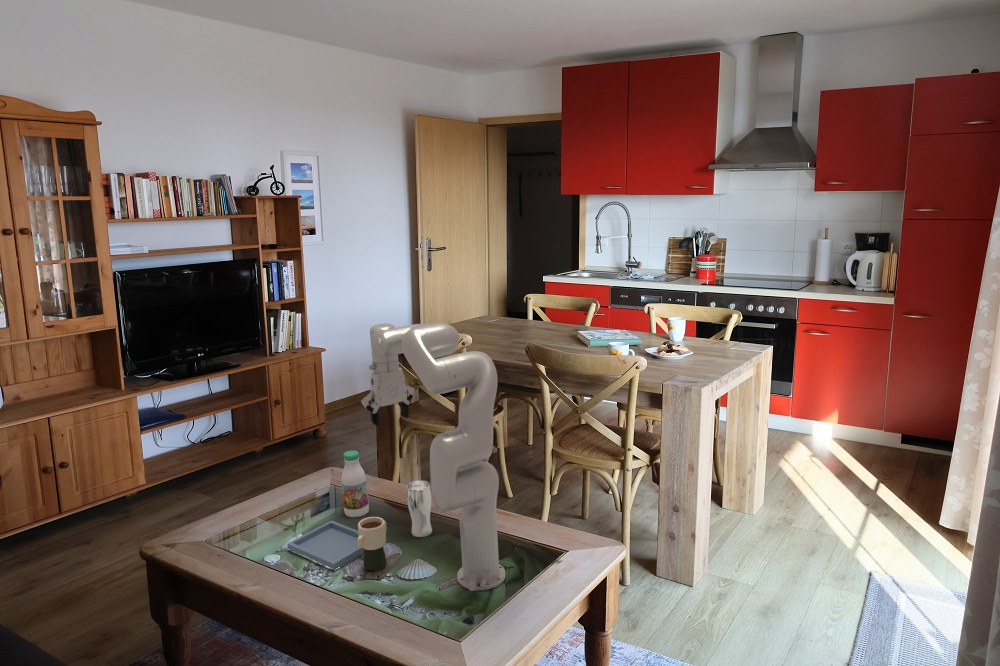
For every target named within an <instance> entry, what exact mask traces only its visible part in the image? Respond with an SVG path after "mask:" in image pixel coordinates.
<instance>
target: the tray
mask: <svg viewBox="0 0 1000 666" xmlns="http://www.w3.org/2000/svg"><path fill="white" fill-rule="evenodd" d="M358 537H359V536H358V530H357V529H354V528H352V527H350V526H347V525H344V524H341V523H339V522H336V521H334V520H330V521H328V522H327V521H326V523H324V524H322V525H320V526H318V527H316V528H314V529H312V530H311V531H308V532H307V533H305V534H303V535H301V536H299V537H297V538H295V539H293V540H291V541H289V542H288V543H287V550H288V549H290V550H292V551H295V552H297V553H300V554H302V555H305V556H307V557H309V558H311V559H314V560H315V561H317V562H320V563H322V564H324V565H326V566H328V567H330V568H333V569H336V568H338V567H341V566H343V565H345V564H347V565H349V564H351V563H352V562H354V561H356V560H357V559H359V558H360V557H362V556H364V548H358V543H357V538H358ZM350 562H351V563H350ZM348 563H349V564H348Z"/></svg>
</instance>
